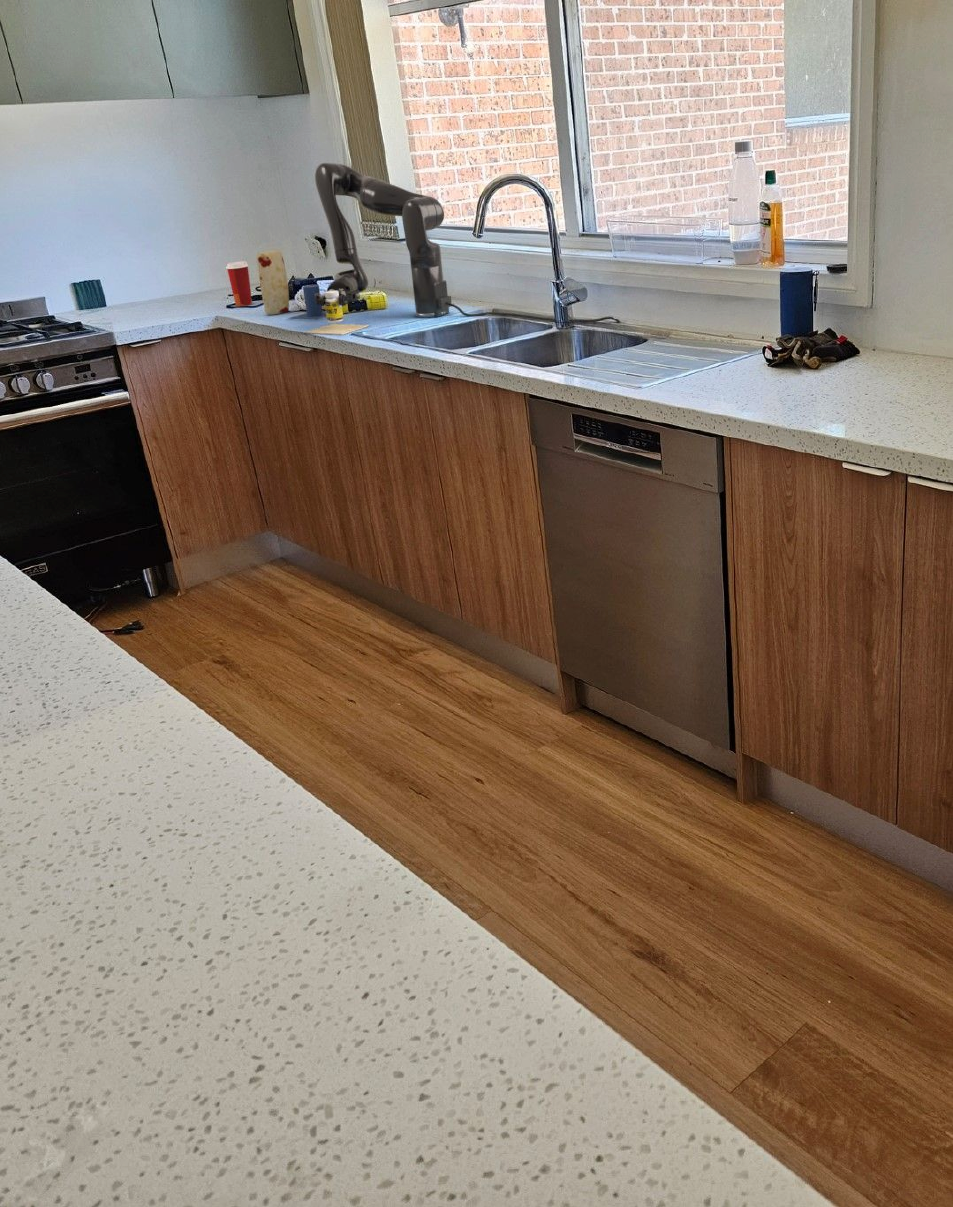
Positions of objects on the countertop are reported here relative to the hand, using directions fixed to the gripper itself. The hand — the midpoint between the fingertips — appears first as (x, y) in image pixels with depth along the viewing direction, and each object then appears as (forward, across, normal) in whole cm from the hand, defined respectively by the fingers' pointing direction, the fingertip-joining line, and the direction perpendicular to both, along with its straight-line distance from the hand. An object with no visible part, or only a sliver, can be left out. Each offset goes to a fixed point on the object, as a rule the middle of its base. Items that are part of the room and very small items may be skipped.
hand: (331, 302), depth 310 cm
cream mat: (-2, 0, +8) cm, 9 cm away
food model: (-37, -26, +9) cm, 46 cm away
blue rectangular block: (-28, -12, +9) cm, 31 cm away
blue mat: (-28, -12, +9) cm, 31 cm away
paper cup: (-61, -44, +10) cm, 76 cm away
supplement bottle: (-3, 0, +6) cm, 7 cm away
